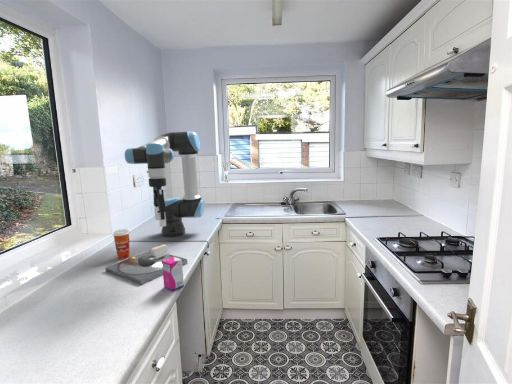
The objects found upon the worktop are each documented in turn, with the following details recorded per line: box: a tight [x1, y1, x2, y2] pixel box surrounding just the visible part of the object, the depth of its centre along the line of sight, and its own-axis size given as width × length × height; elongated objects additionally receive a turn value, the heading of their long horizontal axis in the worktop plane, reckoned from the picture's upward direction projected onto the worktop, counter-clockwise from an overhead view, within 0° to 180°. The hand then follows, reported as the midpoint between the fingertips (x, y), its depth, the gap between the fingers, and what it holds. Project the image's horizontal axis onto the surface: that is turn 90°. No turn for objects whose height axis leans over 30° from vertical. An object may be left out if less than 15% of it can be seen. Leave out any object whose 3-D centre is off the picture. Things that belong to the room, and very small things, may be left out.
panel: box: [104, 250, 188, 286], centre depth 139 cm, size 26×26×3 cm
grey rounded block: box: [138, 243, 168, 266], centre depth 142 cm, size 15×8×6 cm, turn 147°
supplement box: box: [162, 257, 185, 292], centre depth 119 cm, size 6×6×12 cm
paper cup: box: [112, 228, 131, 260], centre depth 152 cm, size 8×8×14 cm
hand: (160, 223), depth 138 cm, fingers open, 13 cm apart
